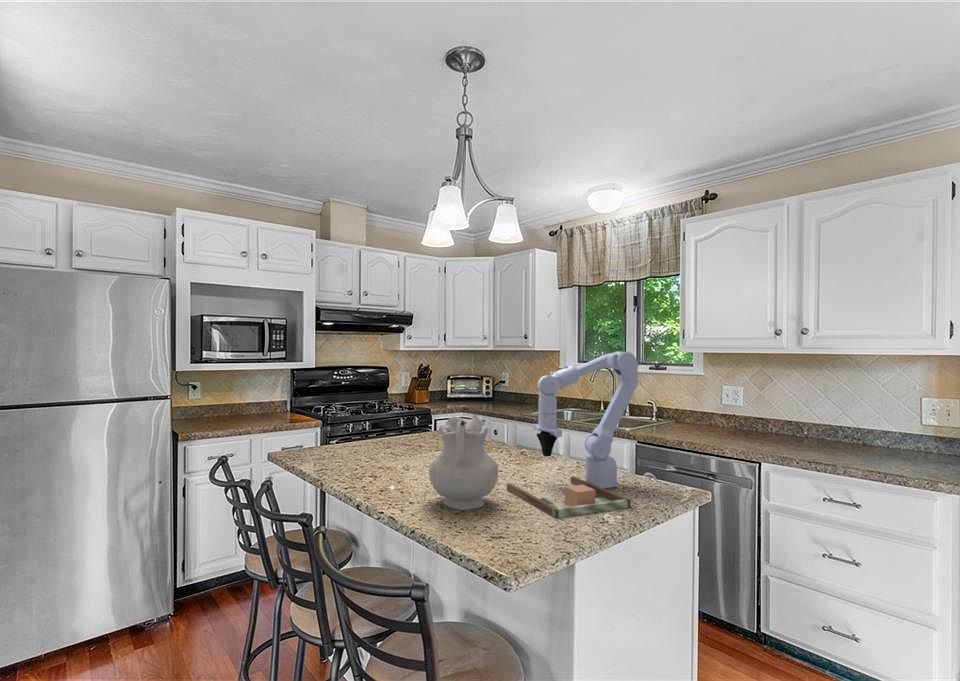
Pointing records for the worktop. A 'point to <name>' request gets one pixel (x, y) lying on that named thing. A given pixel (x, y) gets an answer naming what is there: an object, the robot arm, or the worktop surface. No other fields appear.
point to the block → (579, 495)
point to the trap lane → (556, 511)
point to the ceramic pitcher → (463, 464)
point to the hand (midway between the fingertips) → (547, 455)
